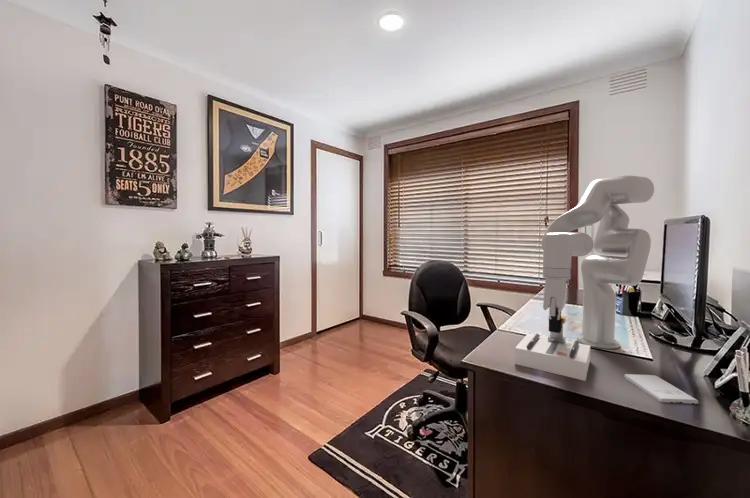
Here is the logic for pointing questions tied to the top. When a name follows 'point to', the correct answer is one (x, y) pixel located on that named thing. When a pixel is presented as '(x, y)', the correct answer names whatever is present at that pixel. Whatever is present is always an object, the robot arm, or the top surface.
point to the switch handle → (558, 336)
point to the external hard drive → (660, 389)
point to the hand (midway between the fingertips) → (554, 331)
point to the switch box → (553, 356)
